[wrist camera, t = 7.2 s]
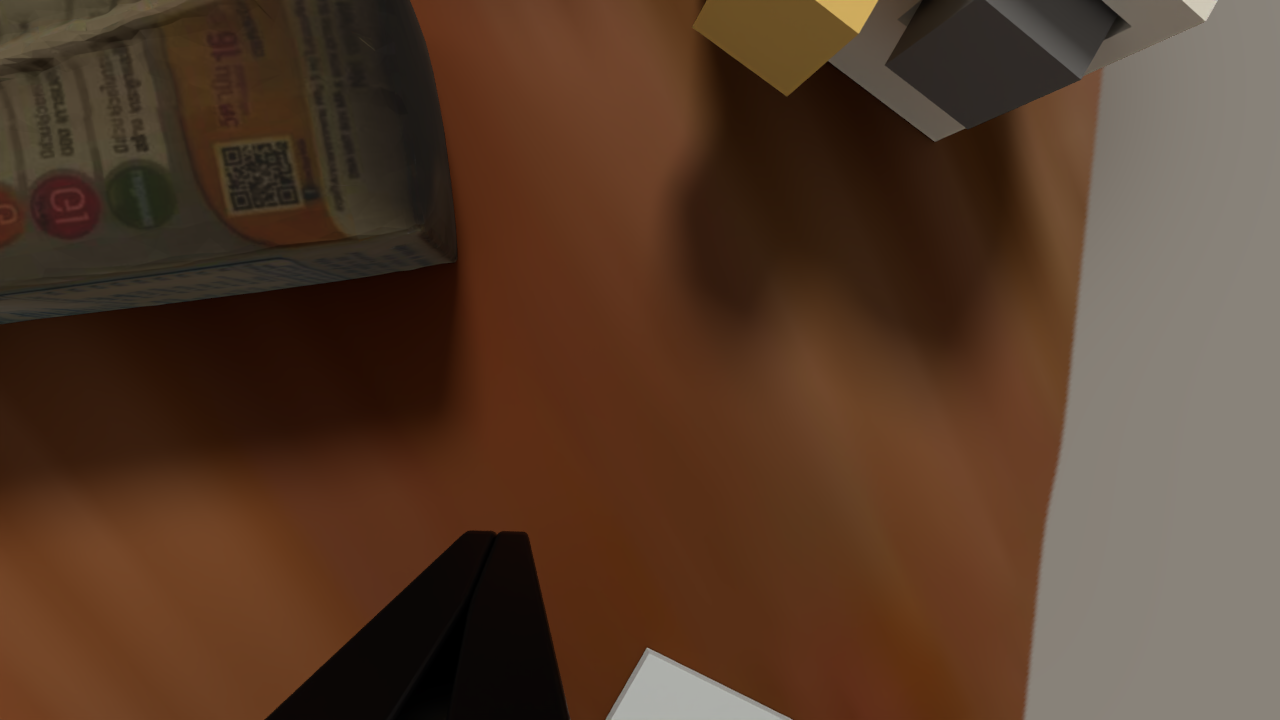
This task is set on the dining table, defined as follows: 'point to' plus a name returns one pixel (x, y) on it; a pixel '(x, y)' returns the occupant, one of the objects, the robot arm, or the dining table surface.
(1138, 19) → the console
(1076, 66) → the charcoal button
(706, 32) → the amber button
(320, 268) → the beverage carton
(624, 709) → the card
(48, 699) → the dining table surface
